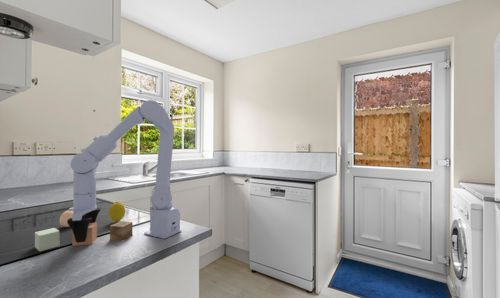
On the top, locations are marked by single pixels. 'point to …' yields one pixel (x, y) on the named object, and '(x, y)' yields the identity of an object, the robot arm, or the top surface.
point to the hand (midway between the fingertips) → (85, 236)
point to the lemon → (116, 211)
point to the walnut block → (121, 231)
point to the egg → (65, 218)
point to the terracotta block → (90, 235)
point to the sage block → (47, 239)
